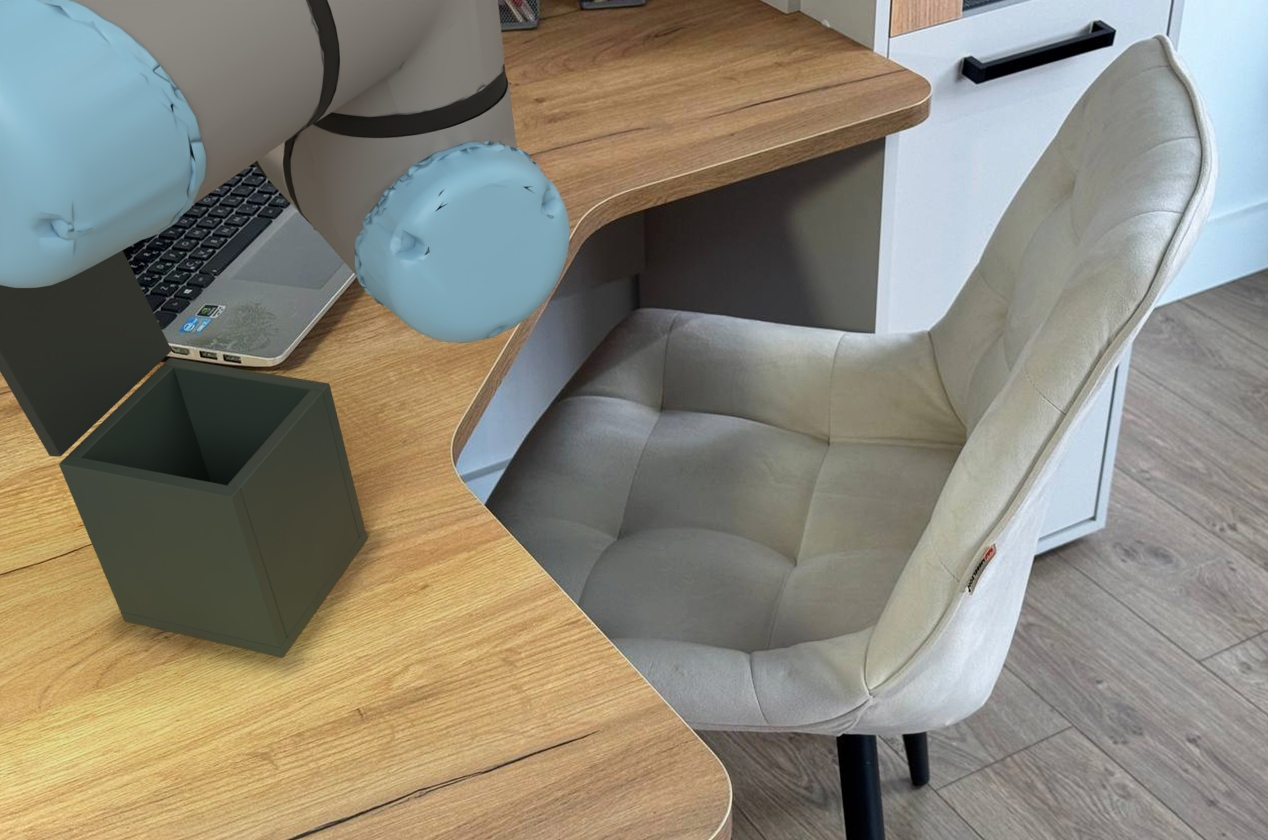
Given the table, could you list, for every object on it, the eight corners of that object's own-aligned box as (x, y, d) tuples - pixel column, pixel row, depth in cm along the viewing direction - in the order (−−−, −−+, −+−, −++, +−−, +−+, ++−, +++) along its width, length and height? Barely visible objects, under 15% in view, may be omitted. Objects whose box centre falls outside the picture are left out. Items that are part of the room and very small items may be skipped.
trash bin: (367, 538, 80) (329, 382, 73) (283, 658, 73) (231, 497, 66) (219, 509, 83) (169, 357, 76) (123, 621, 76) (57, 463, 69)
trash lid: (84, 171, 70) (72, 172, 70) (-50, 266, 62) (-62, 267, 62) (172, 350, 76) (162, 351, 76) (60, 457, 68) (49, 457, 69)
